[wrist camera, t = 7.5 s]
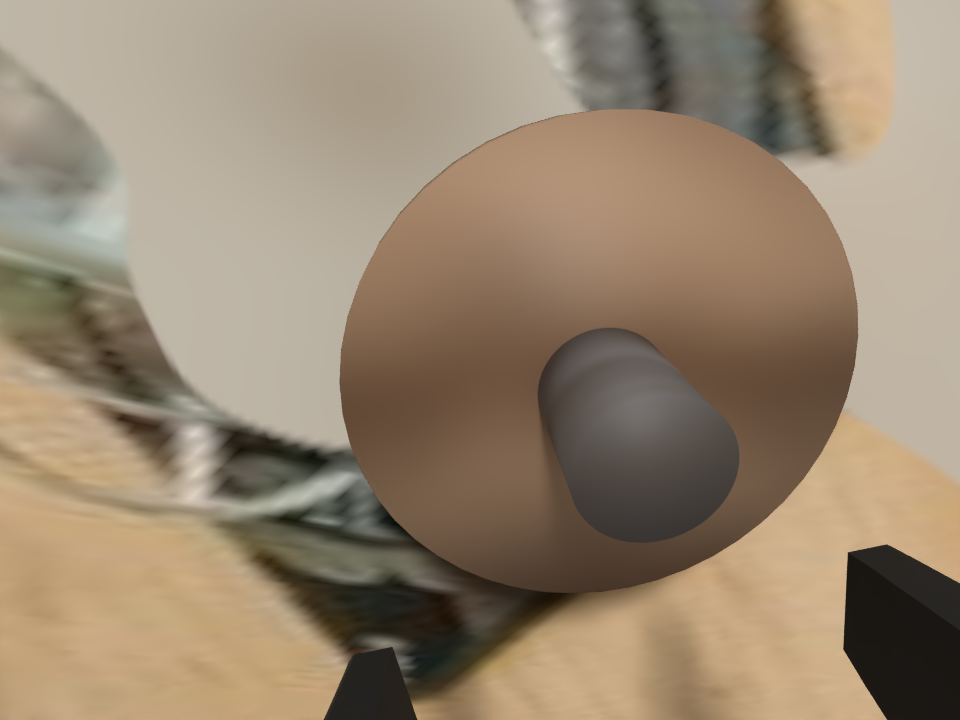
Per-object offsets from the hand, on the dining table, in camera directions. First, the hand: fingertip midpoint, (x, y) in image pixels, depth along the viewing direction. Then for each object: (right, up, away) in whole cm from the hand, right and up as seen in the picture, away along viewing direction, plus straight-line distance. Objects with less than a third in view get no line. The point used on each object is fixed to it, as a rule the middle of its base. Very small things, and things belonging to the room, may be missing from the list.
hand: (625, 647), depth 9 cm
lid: (0, +4, +4) cm, 6 cm away
